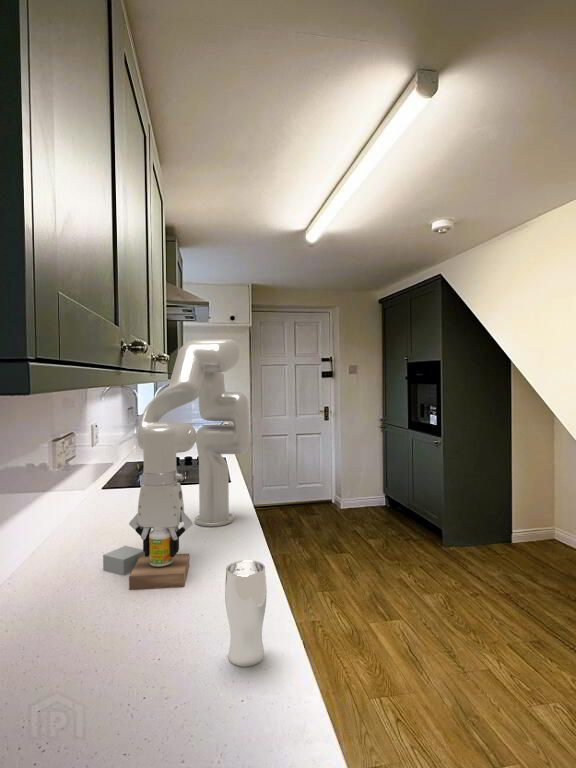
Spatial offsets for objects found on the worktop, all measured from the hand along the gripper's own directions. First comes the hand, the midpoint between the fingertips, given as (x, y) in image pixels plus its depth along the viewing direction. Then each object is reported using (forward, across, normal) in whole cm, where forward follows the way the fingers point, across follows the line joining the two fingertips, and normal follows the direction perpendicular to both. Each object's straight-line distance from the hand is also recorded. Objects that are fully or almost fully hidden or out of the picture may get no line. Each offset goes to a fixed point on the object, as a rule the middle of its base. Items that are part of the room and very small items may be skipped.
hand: (161, 554), depth 110 cm
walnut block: (+5, 0, 0) cm, 5 cm away
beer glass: (+5, -25, +30) cm, 40 cm away
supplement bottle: (+2, 0, 0) cm, 2 cm away
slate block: (+6, +11, -5) cm, 13 cm away
